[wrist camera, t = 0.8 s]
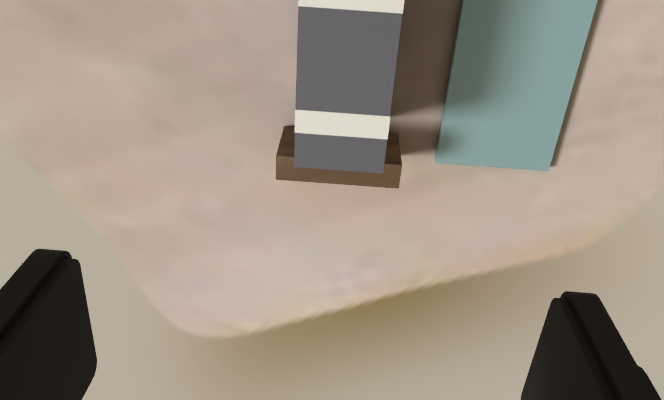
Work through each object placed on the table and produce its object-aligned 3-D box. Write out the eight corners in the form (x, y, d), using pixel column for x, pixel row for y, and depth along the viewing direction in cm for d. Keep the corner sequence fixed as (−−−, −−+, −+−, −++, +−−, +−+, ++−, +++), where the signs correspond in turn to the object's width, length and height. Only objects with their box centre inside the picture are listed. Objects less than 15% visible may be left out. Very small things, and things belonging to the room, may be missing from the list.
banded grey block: (312, -89, 30) (300, -73, 24) (401, -83, 30) (412, -65, 24) (304, 112, 35) (293, 167, 29) (379, 117, 35) (383, 173, 29)
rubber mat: (484, -135, 28) (486, -134, 28) (629, -124, 28) (633, -124, 28) (434, 159, 37) (435, 162, 36) (546, 167, 37) (548, 171, 36)
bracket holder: (289, -148, 28) (279, -148, 25) (433, -138, 28) (443, -136, 25) (283, 148, 37) (275, 179, 33) (394, 156, 37) (398, 188, 33)
